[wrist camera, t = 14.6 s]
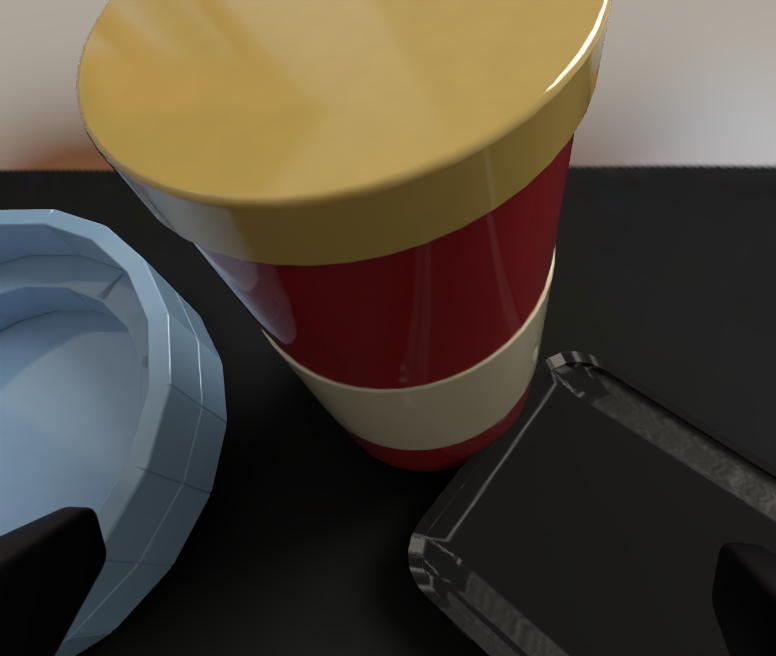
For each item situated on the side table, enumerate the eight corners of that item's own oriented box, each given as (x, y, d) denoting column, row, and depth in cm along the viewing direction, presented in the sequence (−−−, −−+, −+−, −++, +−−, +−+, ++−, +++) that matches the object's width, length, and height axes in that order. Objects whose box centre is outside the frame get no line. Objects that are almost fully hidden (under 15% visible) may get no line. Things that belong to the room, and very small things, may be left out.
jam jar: (419, 528, 14) (245, 334, 4) (288, 370, 17) (4, 35, 7) (584, 373, 16) (753, -64, 5) (435, 250, 18) (366, -179, 8)
